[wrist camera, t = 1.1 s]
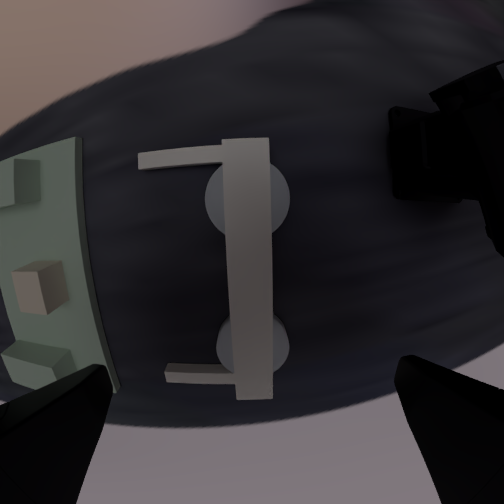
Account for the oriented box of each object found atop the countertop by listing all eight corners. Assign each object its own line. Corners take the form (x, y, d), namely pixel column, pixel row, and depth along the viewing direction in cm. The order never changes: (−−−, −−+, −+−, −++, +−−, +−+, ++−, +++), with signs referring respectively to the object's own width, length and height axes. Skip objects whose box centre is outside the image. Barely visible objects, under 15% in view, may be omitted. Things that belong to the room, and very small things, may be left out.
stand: (82, 138, 16) (49, 130, 12) (120, 386, 20) (103, 415, 17) (-5, 166, 16) (-36, 167, 12) (34, 368, 20) (13, 388, 16)
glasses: (284, 146, 17) (292, 137, 14) (285, 372, 20) (290, 397, 17) (144, 155, 17) (126, 149, 14) (170, 373, 20) (160, 396, 17)
